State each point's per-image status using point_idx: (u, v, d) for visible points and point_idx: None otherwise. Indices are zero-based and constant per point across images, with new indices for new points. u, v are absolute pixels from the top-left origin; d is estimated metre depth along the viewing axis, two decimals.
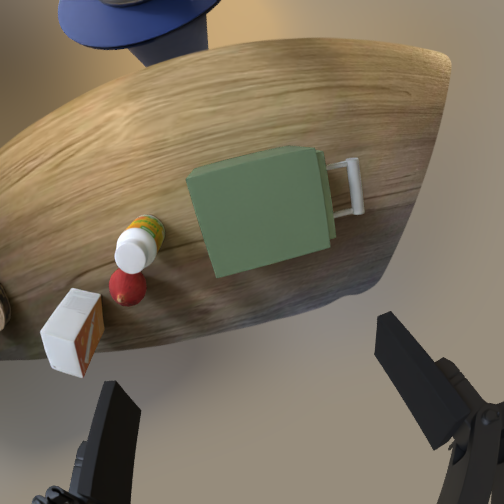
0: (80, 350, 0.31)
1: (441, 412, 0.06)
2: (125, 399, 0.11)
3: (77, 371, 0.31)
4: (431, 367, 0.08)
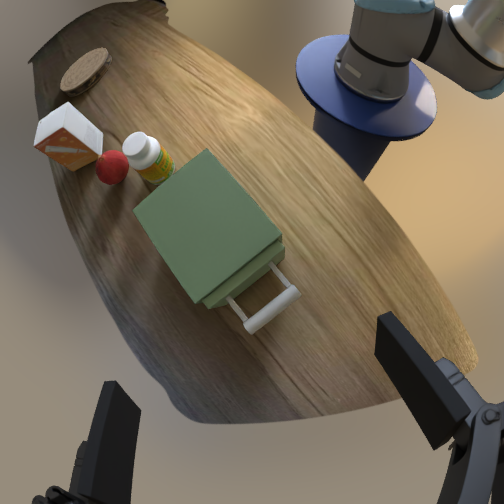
0: (55, 137, 0.33)
1: (441, 412, 0.06)
2: (125, 399, 0.11)
3: (38, 140, 0.32)
4: (431, 367, 0.08)
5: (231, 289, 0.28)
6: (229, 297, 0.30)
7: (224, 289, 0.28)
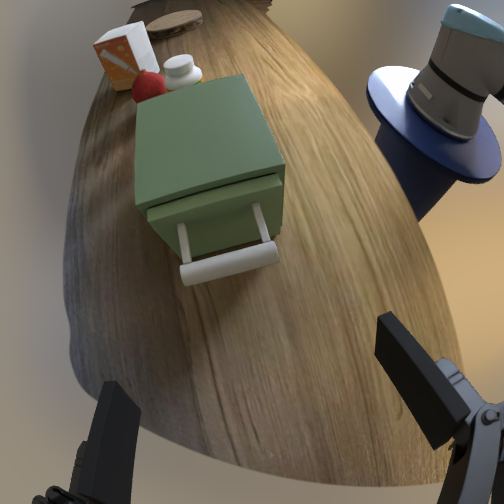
0: (115, 43, 0.31)
1: (441, 412, 0.06)
2: (125, 399, 0.11)
3: (99, 41, 0.30)
4: (431, 367, 0.08)
5: (188, 208, 0.19)
6: (182, 225, 0.21)
7: (179, 205, 0.20)
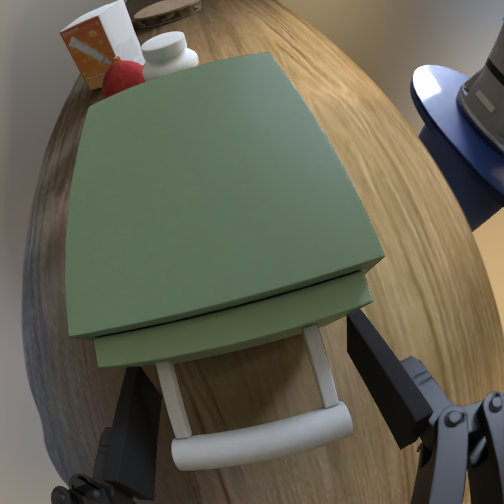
0: (85, 28, 0.20)
1: (403, 410, 0.07)
2: (148, 384, 0.12)
3: (68, 27, 0.19)
4: (395, 365, 0.09)
5: (172, 353, 0.09)
6: (166, 366, 0.10)
7: (154, 343, 0.09)
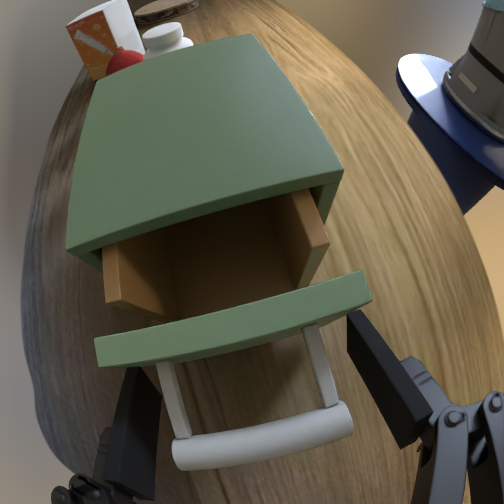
0: (90, 21, 0.21)
1: (403, 410, 0.07)
2: (148, 384, 0.12)
3: (73, 21, 0.21)
4: (395, 365, 0.09)
5: (172, 353, 0.09)
6: (166, 366, 0.10)
7: (154, 343, 0.09)
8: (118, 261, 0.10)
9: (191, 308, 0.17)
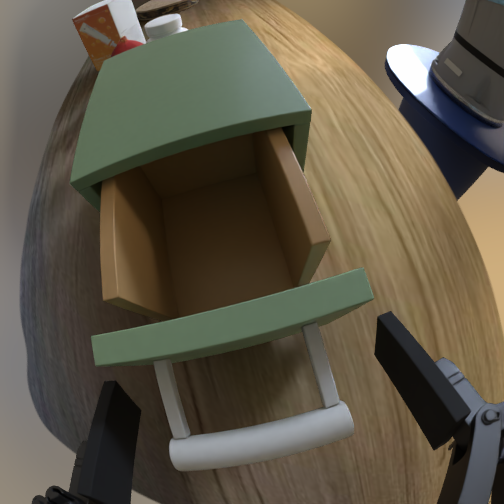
0: (95, 15, 0.22)
1: (441, 412, 0.06)
2: (125, 399, 0.11)
3: (79, 14, 0.22)
4: (431, 367, 0.08)
5: (170, 351, 0.08)
6: (164, 365, 0.10)
7: (152, 341, 0.08)
8: (116, 258, 0.10)
9: (190, 307, 0.17)
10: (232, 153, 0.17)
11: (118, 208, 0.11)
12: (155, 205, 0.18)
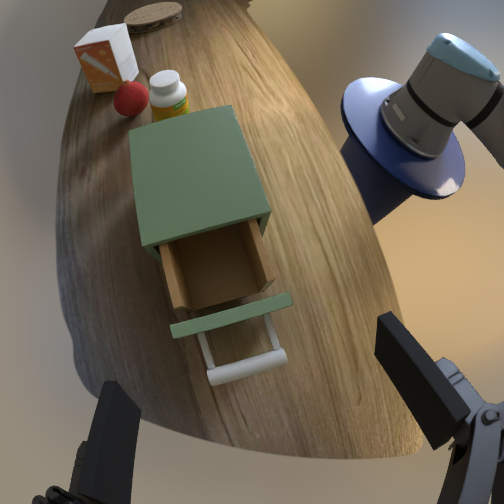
0: (96, 47, 0.28)
1: (441, 412, 0.06)
2: (125, 399, 0.11)
3: (80, 43, 0.27)
4: (431, 367, 0.08)
5: (210, 328, 0.21)
6: (202, 334, 0.23)
7: (202, 324, 0.21)
8: (177, 287, 0.22)
9: (200, 302, 0.29)
10: None
11: (171, 259, 0.23)
12: (175, 241, 0.29)
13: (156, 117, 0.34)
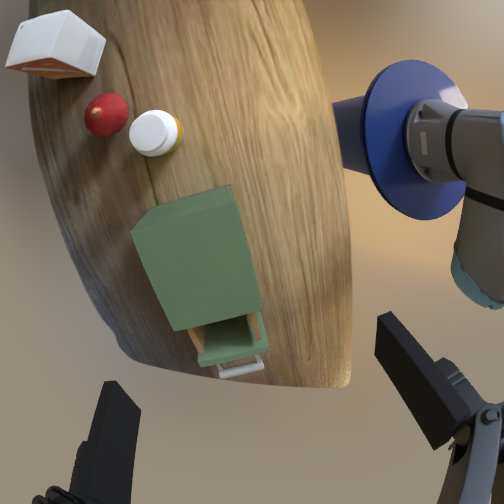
0: (37, 63, 0.16)
1: (441, 412, 0.06)
2: (125, 399, 0.11)
3: (13, 60, 0.14)
4: (431, 367, 0.08)
5: (221, 362, 0.36)
6: None
7: (217, 361, 0.36)
8: (200, 344, 0.35)
9: None
10: None
11: (193, 329, 0.34)
12: None
13: None
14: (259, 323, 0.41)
